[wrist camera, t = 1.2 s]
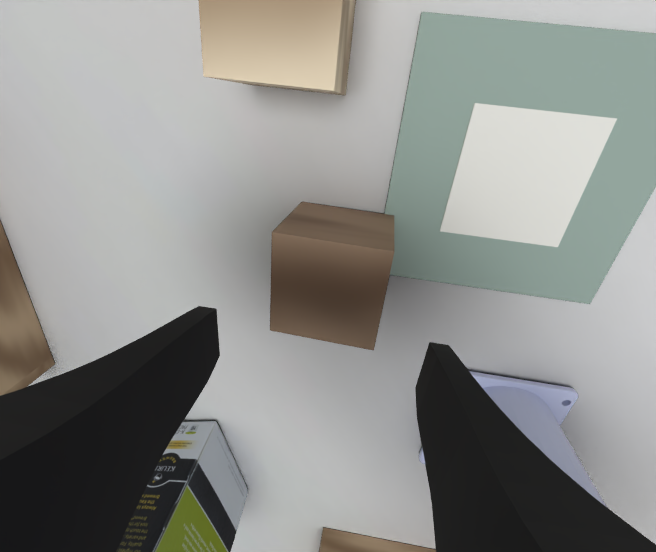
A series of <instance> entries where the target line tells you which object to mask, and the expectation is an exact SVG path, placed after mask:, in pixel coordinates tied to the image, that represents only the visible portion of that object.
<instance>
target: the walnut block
mask: <svg viewBox="0 0 656 552" xmlns="http://www.w3.org/2000/svg"><path fill="white" fill-rule="evenodd" d="M394 252H395V251H394V215H388V214H381V213H374V212H368V211H361V210H354V209H347V208H341V207H334V206H327V205H320V204H313V203H307V202H301V203H300V204H299V205H298V206H297V207H296V208H295V209H294V210H293V211H292V212H291V213H290V214H289V215H288V216H287V217H286V218H285V219H284V220H283V221H282V222H281V223H280V224H279V225H278V226H277V228H276V229H275V230H274V231H273V232H272V255H271V304H270V330H271V331H277V332H282V333H287V334H292V335H297V336H302V337H307V338H313V339H318V340H323V341H328V342H333V343H338V344H343V345H349V346H354V347H359V348H364V349H369V350H374V346H375V342H376V337H377V332H378V328H379V323H380V318H381V313H382V309H383V304H384V299H385V294H386V290H387V285H388V280H389V275H390V271H391V266H392V261H393V256H394Z"/></svg>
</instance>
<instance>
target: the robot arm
mask: <svg viewBox="0 0 656 552" xmlns="http://www.w3.org/2000/svg"><path fill="white" fill-rule="evenodd" d="M219 356H220V352H219V339H218V325H217V311H216V309H214V308H208V307H201V306H199V307H197V308H195V309H193V310H191V311H189V312H187V313H185V314H183V315H182V316H180V317H178V318H176V319H174V320H173V321H171V322H169V323H167V324H166V325H164V326H162V327H160V328H158V329H157V330H155V331H153V332H151V333H149V334H148V335H146V336H144V337H142V338H140V339H138V340H136V341H134V342H132V343H130V344H128V345H126V346H124V347H122V348H120V349H118V350H116V351H114V352H112V353H110V354H108V355H106V356H104V357H102V358H99V359H97V360H95V361H93V362H91V363H88V364H86V365H83V366H81V367H79V368H76V369H74V370H71V371H69V372H66V373H64V374H61V375H59V376H56V377H53V378H50V379H48V380H45V381H42V382H39V383H36V384H34V385H31V386H28V387H25V388H23V389H20V390H17V391H14V392H11V393H7V394H4V395H1V396H0V552H116V551H117V549H118V547H119V545H120V542H121V540H122V538H123V536H124V534H125V531H126V529H127V527H128V525H129V522H130V520H131V518H132V516H133V514H134V512H135V510H136V508H137V506H138V504H139V501H140V499H141V497H142V495H143V493H144V491H145V489H146V487H147V485H148V483H149V481H150V479H151V477H152V475H153V473H154V471H155V469H156V467H157V465H158V463H159V461H160V459H161V457H162V455H163V453H164V452H165V450H166V448H167V446H168V445H169V443H170V441H171V439H172V438H173V436H174V435H175V433H176V432H177V430H178V428H179V427H180V425H181V424H182V422H183V420H184V419H185V417H186V416H187V414H188V412H189V411H190V409H191V408H192V406H193V405H194V403H195V401H196V400H197V398H198V397H199V395H200V393H201V392H202V390H203V388H204V387H205V385H206V383H207V382H208V380H209V378H210V376H211V374H212V371H213V369H214V367H215V365H216V362H217V360H218V358H219ZM577 398H578V394H577V392H576V391H575V390H574V389H573V388H570V387H564V386H558V385H551V384H545V383H539V382H533V381H527V380H521V379H514V378H508V377H502V376H496V375H490V374H484V373H477V372H471V371H468V369H467V368H466V367H465V366H464V364H463V363H462V362H461V360H460V359H459V358H458V356H457V355H456V354H455V353H454V351H453V350H452V349H451V348H450V346H449V345H444V344H437V343H431V342H430V343H429V346H428V349H427V352H426V356H425V359H424V362H423V365H422V369H421V372H420V375H419V378H418V381H417V385H416V408H417V420H418V426H419V431H420V437H421V443H422V448H421V451H420V454H419V460H420V462H421V463H423V464H425V465H426V470H427V476H428V481H429V487H430V493H431V501H432V509H433V520H434V532H435V544H436V552H656V545H655V544H654V543H653V542H651V541H650V540H649V539H647V538H646V537H645V536H643V535H642V534H641V533H639V532H638V531H637V530H635V529H634V528H633V527H631V526H630V525H629V524H628V523H626V522H625V521H624V520H622V519H621V518H620V517H618V516H617V515H616V514H614V513H613V512H612V511H611V510H609V509H608V508H607V506H606V505H605V503H604V501H603V499H602V498H601V496H600V494H599V493H598V491H597V489H596V487H595V486H594V484H593V482H592V480H591V479H590V477H589V475H588V474H587V472H586V470H585V468H584V467H583V465H582V463H581V462H580V460H579V458H578V456H577V455H576V453H575V451H574V449H573V448H572V446H571V444H570V443H569V441H568V439H567V437H566V436H565V434H564V432H563V430H562V429H561V427H560V425H561V423H562V422H563V420H564V419H565V417H566V415H567V414H568V412H569V411H570V409H571V408H572V406H573V405H574V403H575V401H576V400H577Z"/></svg>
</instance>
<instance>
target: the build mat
mask: <svg viewBox="0 0 656 552" xmlns="http://www.w3.org/2000/svg"><path fill="white" fill-rule="evenodd" d="M655 187H656V33H646V32H635V31H624V30H613V29H603V28H592V27H581V26H570V25H559V24H548V23H538V22H527V21H516V20H505V19H494V18H484V17H473V16H462V15H451V14H440V13H430V12H422V13H421V18H420V23H419V29H418V34H417V39H416V45H415V50H414V56H413V61H412V67H411V72H410V77H409V83H408V88H407V94H406V99H405V104H404V110H403V115H402V121H401V126H400V131H399V137H398V142H397V148H396V153H395V159H394V164H393V169H392V175H391V180H390V186H389V191H388V196H387V202H386V207H385V213H384V214H388V215H394V251H395V252H394V256H393V261H392V266H391V271H390V275H393V276H400V277H407V278H414V279H421V280H428V281H434V282H441V283H448V284H455V285H462V286H469V287H476V288H482V289H489V290H496V291H503V292H510V293H517V294H524V295H530V296H537V297H544V298H551V299H558V300H565V301H572V302H579V303H585V304H590V303H591V301H592V299H593V298H594V296H595V294H596V292H597V291H598V289H599V287H600V285H601V283H602V282H603V280H604V278H605V276H606V275H607V273H608V271H609V269H610V267H611V266H612V264H613V262H614V260H615V258H616V257H617V255H618V253H619V251H620V250H621V248H622V246H623V244H624V242H625V241H626V239H627V237H628V235H629V234H630V232H631V230H632V228H633V226H634V225H635V223H636V221H637V219H638V217H639V216H640V214H641V212H642V210H643V209H644V207H645V205H646V203H647V201H648V200H649V198H650V196H651V194H652V193H653V191H654V189H655Z"/></svg>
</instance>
